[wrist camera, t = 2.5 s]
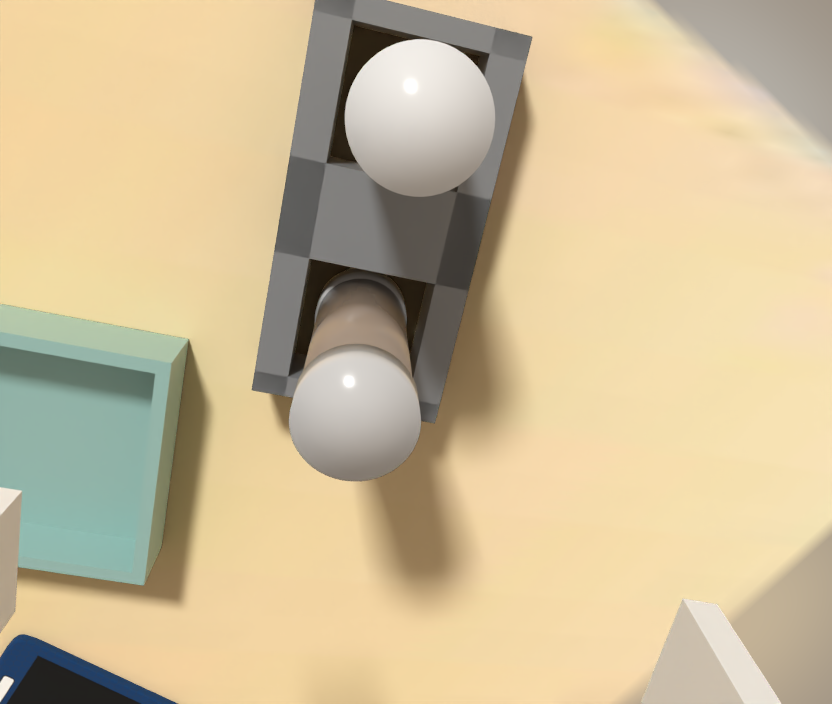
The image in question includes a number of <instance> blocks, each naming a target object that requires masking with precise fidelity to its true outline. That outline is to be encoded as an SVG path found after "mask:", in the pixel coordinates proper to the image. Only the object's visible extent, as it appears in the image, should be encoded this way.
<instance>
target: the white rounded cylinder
mask: <svg viewBox="0 0 832 704" xmlns="http://www.w3.org/2000/svg"><path fill="white" fill-rule="evenodd" d="M494 128H495V107H494V102H493V97H492V94H491V91H490V88H489V85H488V83H487V81H486V79H485V77H484V76H483V74H482V73H481V71H480V70H479V68H478V67H477V66H476V65H475V64H474V63H473V61H472V60H470V59H469V58H468V57H467V56H466V55H465V54H463V53H462V52H460V51H459V50H457V49H456V48H454V47H451V46H449V45H447V44H444V43H441V42H438V41H433V40H426V39H415V40H407V41H403V42H399V43H396V44H394V45H391V46H389V47H387V48H385V49H383V50H382V51H380V52H378V53H377V54H376V55H375V56H373V57H372V58H371V59H370V60H369V61H368V62H367V63H366V64H365V65H364V66H363V68H362V69H361V70H360V72H359V73H358V74H357V76H356V78H355V80H354V82H353V83H352V86H351V88H350V91H349V94H348V98H347V102H346V108H345V129H346V135H347V139H348V143H349V146H350V148H351V151H352V153H353V155H354V157H355V159H356V160H357V162H358V164H359V165H360V166H361V168H362V169H363V170H364V171H365V173H366V174H367V175H368V176H369V177H370V178H372V179H373V180H374V181H375V182H377V183H378V184H379V185H381V186H383V187H384V188H386V189H388V190H390V191H393V192H395V193H398V194H402V195H406V196H413V197H426V196H433V195H437V194H441V193H444V192H447V191H449V190H451V189H453V188H455V187H457V186H459V185H460V184H461V183H463V182H464V181H465V180H467V179H468V178H469V177H470V176H471V175H472V174H473V173H474V172H475V171H476V170H477V168H478V167H479V166H480V165H481V163H482V161H483V160H484V158H485V157H486V154H487V152H488V150H489V148H490V145H491V142H492V139H493V134H494Z"/></svg>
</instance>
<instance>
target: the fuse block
mask: <svg viewBox="0 0 832 704" xmlns="http://www.w3.org/2000/svg"><path fill="white" fill-rule="evenodd" d="M354 26H358V27H362V28H366V29H370V30H374V31H378V32H382V33H386V34H391V35H395V36H399V37H403V38H407V39H411V40H415V39H426V40H433V41H438V42H441V43H444V44H447V45H449V46H451V47H454V48H456V49H457V50H459V51H460V52H464V53H468V54H473V55H477V56H479V59H478V64H477V67H478V68H479V70H480V71H481V73H482V74H483V76H484V77H485V79H486V81H487V83H488V85H489V88H490V91H491V94H492V97H493V102H494V107H495V128H494V134H493V139H492V142H491V145H490V148H489V150H488V152H487V154H486V157H485V158H484V160H483V161H482V163H481V165H480V166H479V167H478V168H477V170H476V171H475V172H474V173H473V174H472V175H471V176H470V177H469V178H468V179H467V180H465V181H464V182H463V183H461V184H460V185H459V186H457V187H455V188H453V189H451V190H449V191H447V192H444V193H441V194H437V195H433V196H426V197H413V196H406V195H402V194H398V193H395V192H393V191H390V190H388V189H386V188H384V187H383V186H381V185H379V184H378V183H377V182H375V181H374V180H373V179H372V178H370V177H369V176H368V175H367V174H366V173H365V171H364V170H363V169H362V168H361V166H360V165H359V164H358V162H354V161H349V160H345V159H340V158H336V157H331V150H332V145H333V139H334V134H335V128H336V122H337V117H338V111H339V106H340V100H341V95H342V89H343V84H344V78H345V72H346V67H347V61H348V56H349V50H350V45H351V39H352V33H353V28H354ZM531 41H532V37H531V36H527V35H523V34H519V33H515V32H511V31H507V30H503V29H499V28H495V27H491V26H487V25H483V24H479V23H475V22H471V21H467V20H463V19H459V18H455V17H451V16H447V15H443V14H439V13H435V12H431V11H427V10H423V9H419V8H415V7H411V6H407V5H403V4H399V3H395V2H391V1H387V0H315V4H314V11H313V17H312V23H311V29H310V35H309V41H308V47H307V54H306V60H305V66H304V72H303V78H302V84H301V90H300V97H299V103H298V109H297V115H296V121H295V127H294V134H293V140H292V146H291V152H290V158H289V164H288V170H287V177H286V183H285V189H284V195H283V201H282V207H281V213H280V220H279V226H278V232H277V238H276V244H275V250H274V256H273V263H272V269H271V275H270V281H269V287H268V293H267V299H266V306H265V312H264V318H263V324H262V330H261V336H260V342H259V349H258V355H257V361H256V367H255V373H254V379H253V385H252V390H253V391H259V392H264V393H270V394H275V395H281V396H286V397H292V398H293V397H294V393H295V389H296V385H297V382H298V380H299V377H300V375H301V374H302V372H303V370H304V366H305V362H306V358H307V355H303V354H298V353H295V350H296V345H297V339H298V334H299V328H300V323H301V317H302V311H303V306H304V300H305V295H306V289H307V284H308V278H309V273H310V267H311V261H312V259H314V260H319V261H324V262H329V263H334V264H339V265H343V266H348V267H353V268H358V269H363V270H368V271H373V272H378V273H383V274H388V275H392V276H397V277H402V278H407V279H412V280H417V281H422V282H427V283H426V287H425V291H424V296H423V300H422V304H421V309H420V313H419V317H418V322H417V326H416V330H415V334H414V339H413V343H412V347H411V352H410V363H411V370H412V377H413V379H414V382H415V384H416V388H417V392H418V400H419V407H420V414H421V421H425V422H430V423H435V421H436V417H437V413H438V409H439V405H440V401H441V397H442V393H443V389H444V385H445V382H446V378H447V374H448V370H449V366H450V362H451V358H452V354H453V350H454V346H455V342H456V338H457V334H458V330H459V326H460V322H461V318H462V314H463V310H464V306H465V302H466V298H467V294H468V290H469V286H470V282H471V278H472V274H473V271H474V267H475V263H476V259H477V255H478V251H479V247H480V243H481V239H482V235H483V231H484V227H485V223H486V219H487V215H488V211H489V207H490V203H491V199H492V195H493V191H494V187H495V183H496V179H497V175H498V171H499V167H500V163H501V160H502V156H503V152H504V148H505V144H506V140H507V136H508V132H509V128H510V124H511V120H512V116H513V112H514V108H515V104H516V100H517V96H518V92H519V88H520V84H521V80H522V76H523V72H524V68H525V64H526V60H527V56H528V52H529V48H530V45H531Z"/></svg>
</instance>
